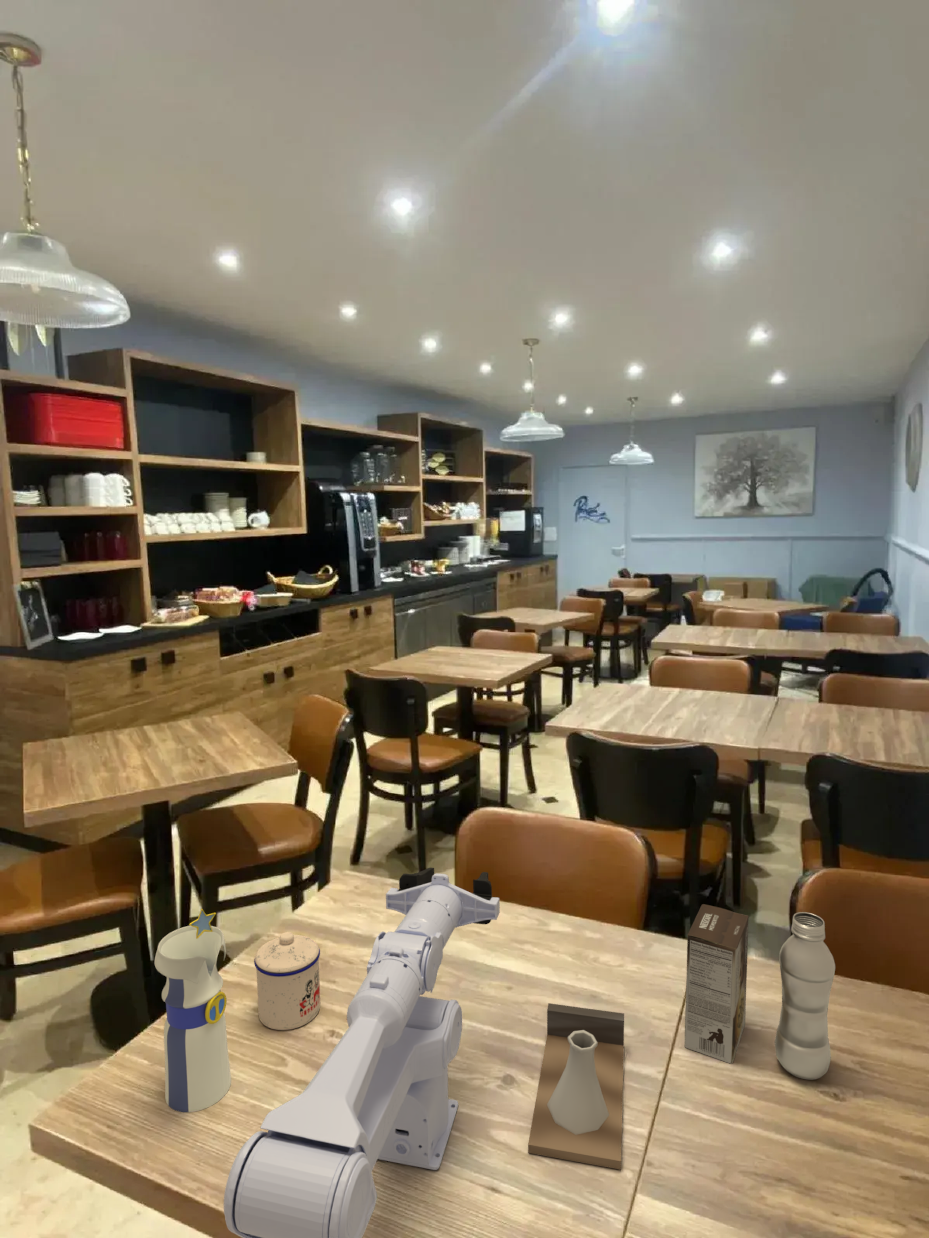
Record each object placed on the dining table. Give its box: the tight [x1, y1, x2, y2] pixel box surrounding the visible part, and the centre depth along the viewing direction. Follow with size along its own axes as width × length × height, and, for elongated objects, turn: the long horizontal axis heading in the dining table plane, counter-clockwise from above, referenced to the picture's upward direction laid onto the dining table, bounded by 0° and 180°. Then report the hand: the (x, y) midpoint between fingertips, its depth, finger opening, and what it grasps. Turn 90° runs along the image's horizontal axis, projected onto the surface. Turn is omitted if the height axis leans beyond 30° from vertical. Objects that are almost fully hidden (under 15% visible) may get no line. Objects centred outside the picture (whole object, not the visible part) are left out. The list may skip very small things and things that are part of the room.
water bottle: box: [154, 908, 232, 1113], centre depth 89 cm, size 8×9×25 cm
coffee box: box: [684, 903, 750, 1064], centre depth 98 cm, size 9×6×16 cm
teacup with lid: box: [253, 931, 321, 1031], centre depth 105 cm, size 12×9×12 cm
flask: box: [547, 1030, 609, 1135], centre depth 84 cm, size 7×7×10 cm
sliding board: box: [527, 1003, 625, 1170], centre depth 88 cm, size 20×10×4 cm, turn 167°
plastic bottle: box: [774, 911, 836, 1081], centre depth 91 cm, size 6×7×20 cm
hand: (458, 876), depth 101 cm, fingers open, 7 cm apart
